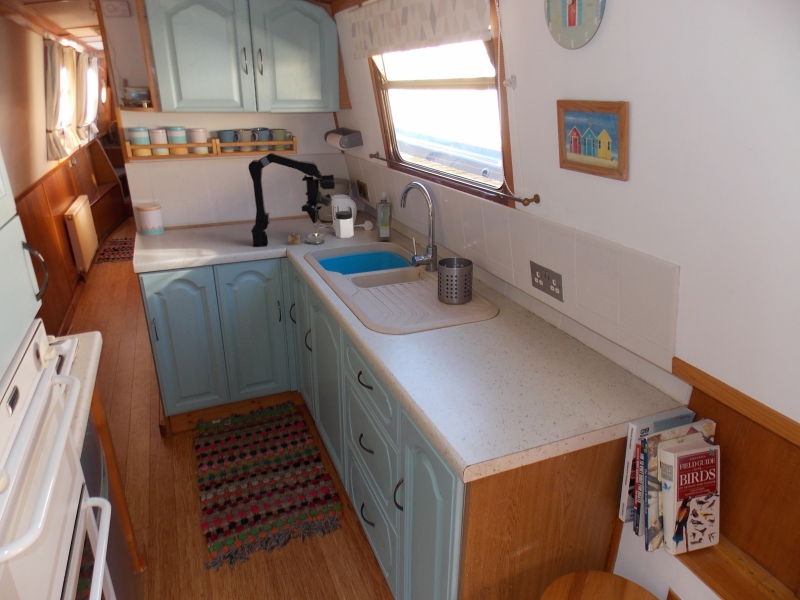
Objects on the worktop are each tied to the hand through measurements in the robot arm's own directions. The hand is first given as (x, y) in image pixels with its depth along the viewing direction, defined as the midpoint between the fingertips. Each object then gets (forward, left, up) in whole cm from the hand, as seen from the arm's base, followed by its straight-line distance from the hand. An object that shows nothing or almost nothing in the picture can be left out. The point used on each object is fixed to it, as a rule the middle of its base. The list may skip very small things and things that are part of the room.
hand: (315, 222), depth 271 cm
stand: (-11, +1, -10) cm, 15 cm away
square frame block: (0, 0, -9) cm, 9 cm away
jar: (+15, +8, -10) cm, 20 cm away
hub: (0, 0, -10) cm, 10 cm away
